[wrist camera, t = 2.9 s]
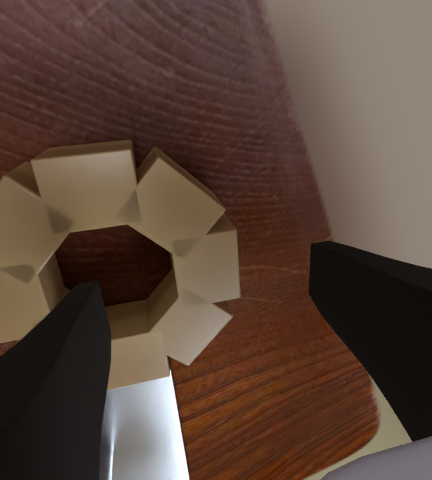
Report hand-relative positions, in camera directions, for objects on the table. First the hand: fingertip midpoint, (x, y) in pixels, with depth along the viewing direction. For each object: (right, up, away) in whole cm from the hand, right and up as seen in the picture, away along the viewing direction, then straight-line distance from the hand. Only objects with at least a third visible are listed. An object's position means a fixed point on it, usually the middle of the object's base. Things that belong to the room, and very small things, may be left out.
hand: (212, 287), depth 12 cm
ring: (-4, +1, +3) cm, 5 cm away
